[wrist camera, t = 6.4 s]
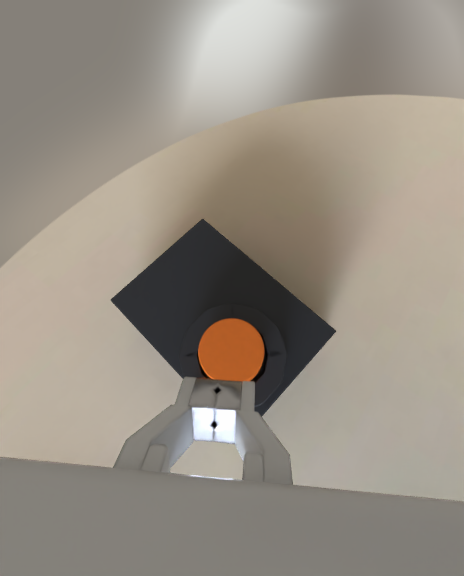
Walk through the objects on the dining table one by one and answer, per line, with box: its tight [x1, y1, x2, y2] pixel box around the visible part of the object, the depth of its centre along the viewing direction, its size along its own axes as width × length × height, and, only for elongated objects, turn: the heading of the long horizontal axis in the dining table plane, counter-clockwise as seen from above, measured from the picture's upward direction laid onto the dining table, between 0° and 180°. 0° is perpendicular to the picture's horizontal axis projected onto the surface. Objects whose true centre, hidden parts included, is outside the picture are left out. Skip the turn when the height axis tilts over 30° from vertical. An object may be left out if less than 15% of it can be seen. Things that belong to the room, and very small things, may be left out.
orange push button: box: [198, 318, 265, 384], centre depth 19 cm, size 4×4×2 cm
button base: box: [111, 219, 336, 417], centre depth 24 cm, size 14×10×8 cm
